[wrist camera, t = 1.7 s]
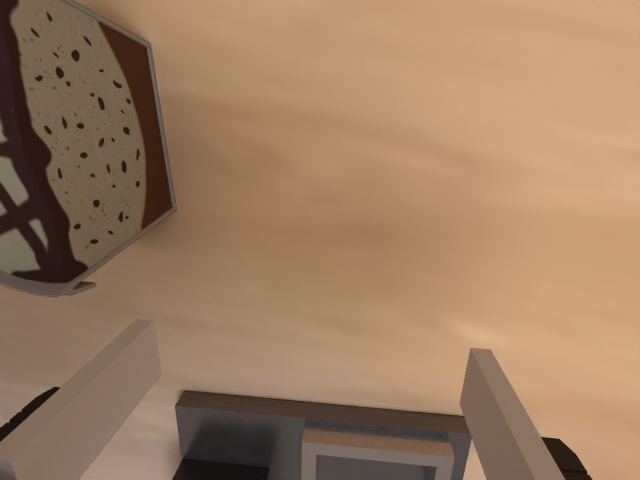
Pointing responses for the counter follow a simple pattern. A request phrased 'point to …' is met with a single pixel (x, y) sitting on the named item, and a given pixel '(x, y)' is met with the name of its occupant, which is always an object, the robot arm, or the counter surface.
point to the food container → (75, 145)
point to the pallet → (314, 441)
